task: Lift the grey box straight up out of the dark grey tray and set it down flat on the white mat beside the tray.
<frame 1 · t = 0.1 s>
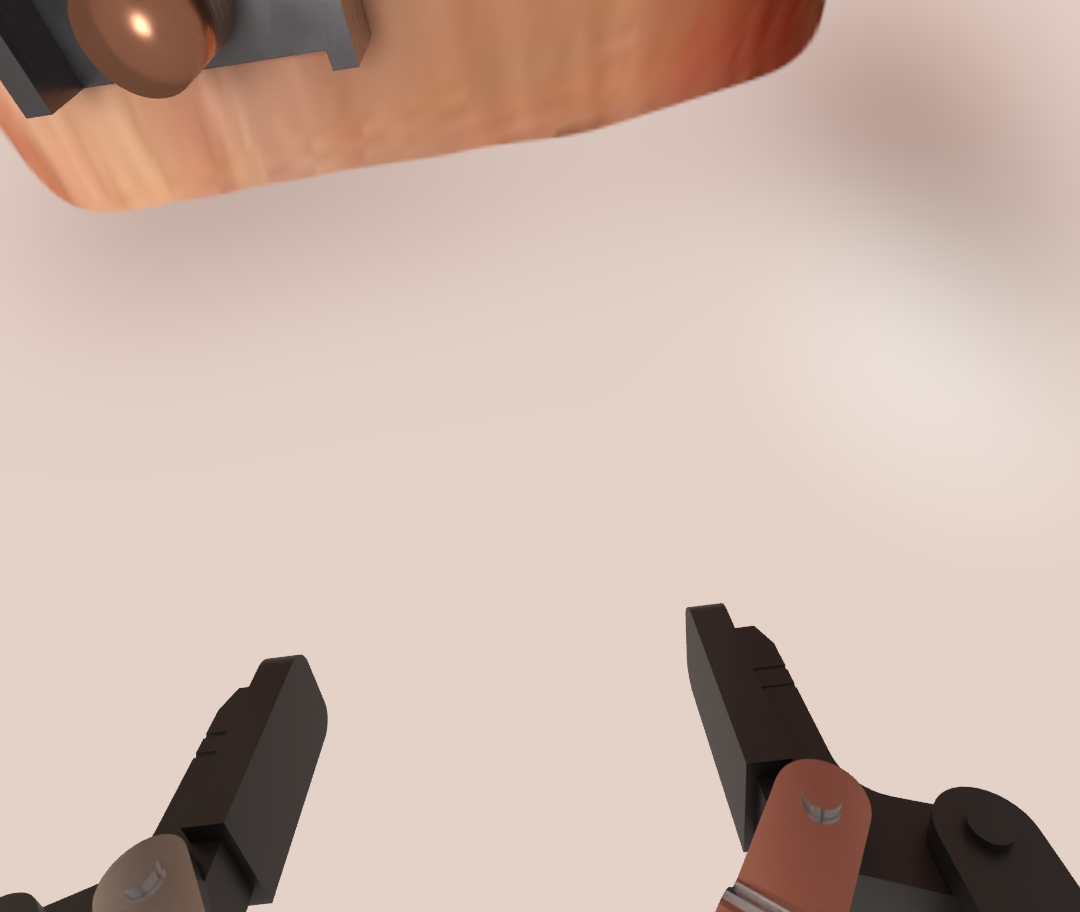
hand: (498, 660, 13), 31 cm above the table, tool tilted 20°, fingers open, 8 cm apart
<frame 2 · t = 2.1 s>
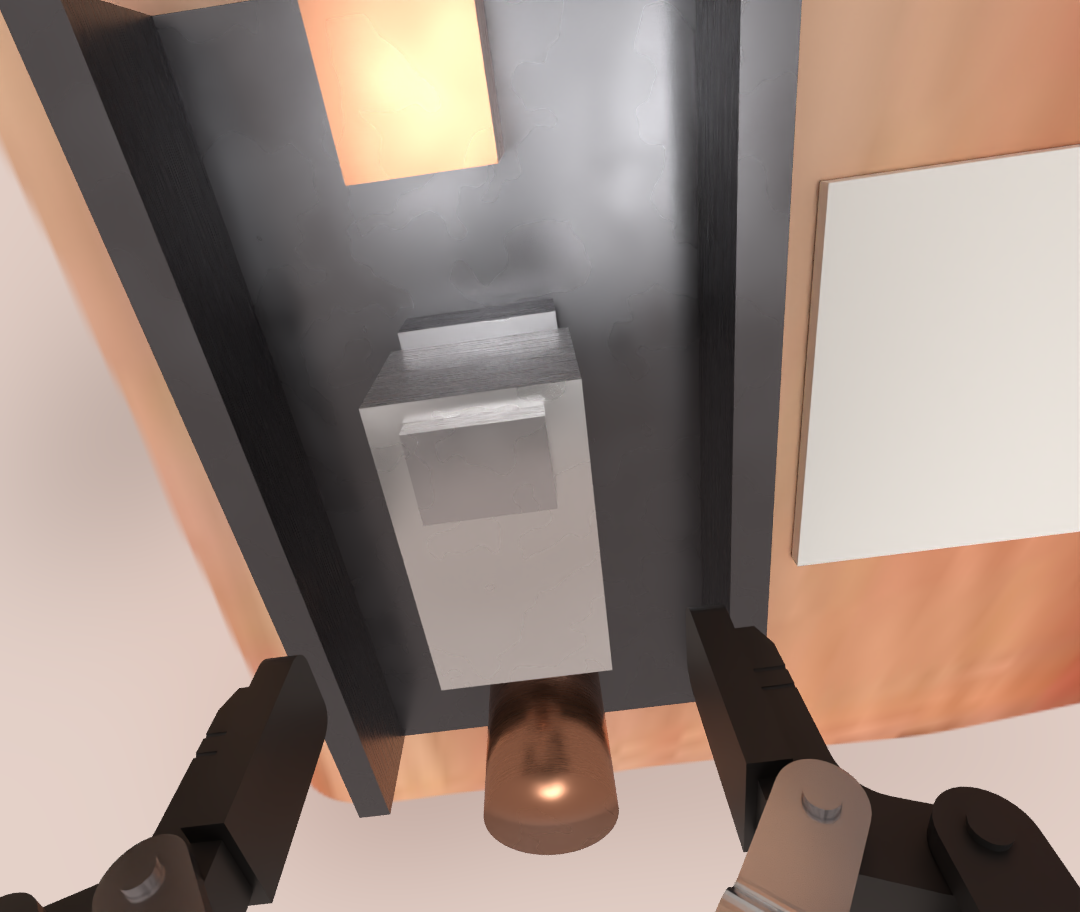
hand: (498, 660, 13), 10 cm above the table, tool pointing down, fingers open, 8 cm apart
grey box: (504, 478, 19), point 3 cm above the table, touching dark grey tray
white mat: (1006, 370, 21), on the table
dark grey tray: (506, 435, 22), on the table
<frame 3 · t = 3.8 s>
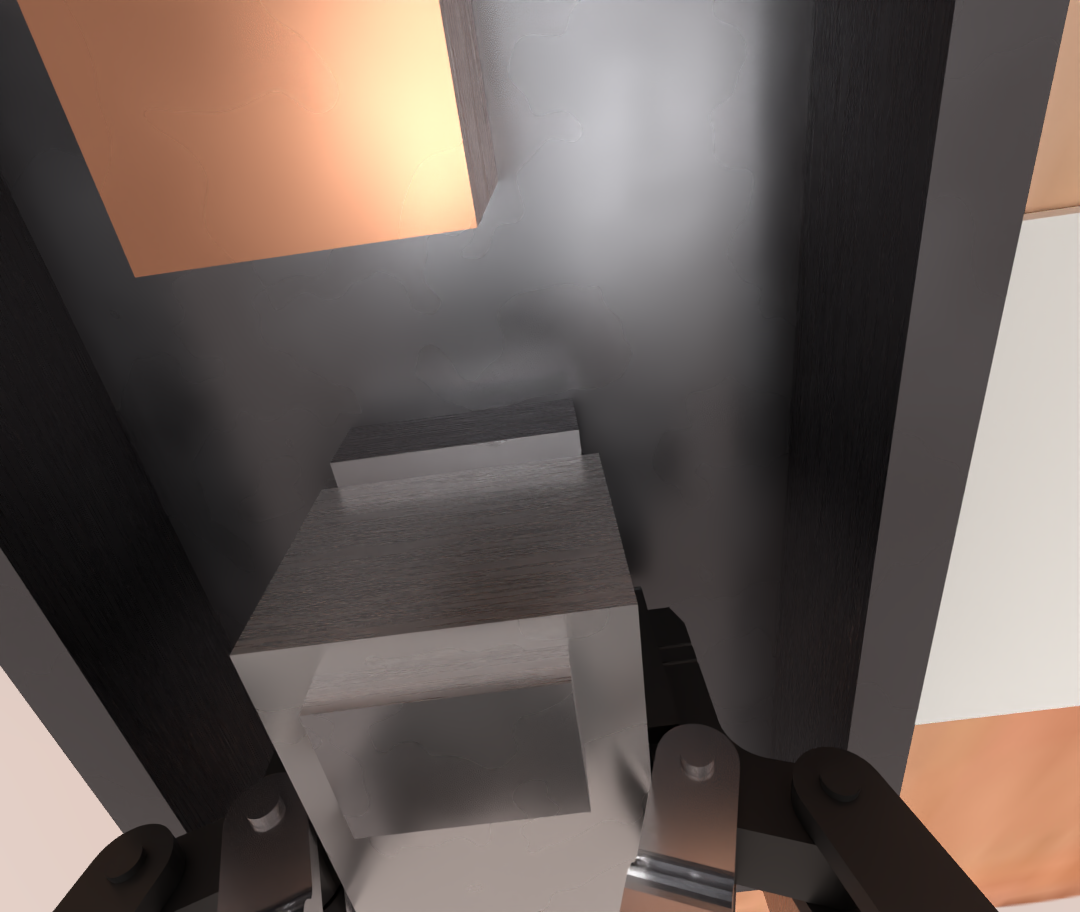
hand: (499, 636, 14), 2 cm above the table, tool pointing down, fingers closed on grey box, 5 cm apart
grey box: (499, 656, 13), point 3 cm above the table, touching gripper, dark grey tray
dark grey tray: (502, 568, 16), on the table
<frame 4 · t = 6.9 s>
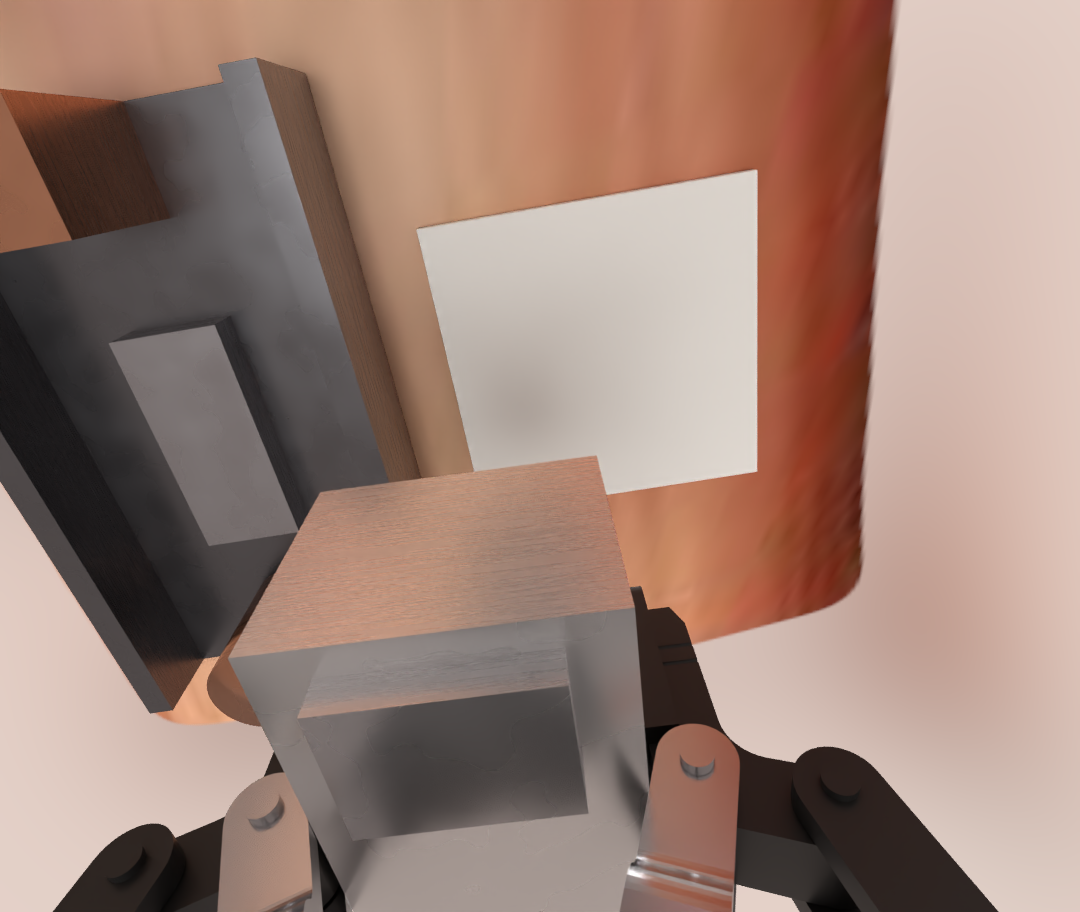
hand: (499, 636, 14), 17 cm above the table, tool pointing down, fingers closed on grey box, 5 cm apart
grey box: (498, 657, 13), point 18 cm above the table, touching gripper
white mat: (602, 358, 29), on the table
dark grey tray: (239, 417, 30), on the table
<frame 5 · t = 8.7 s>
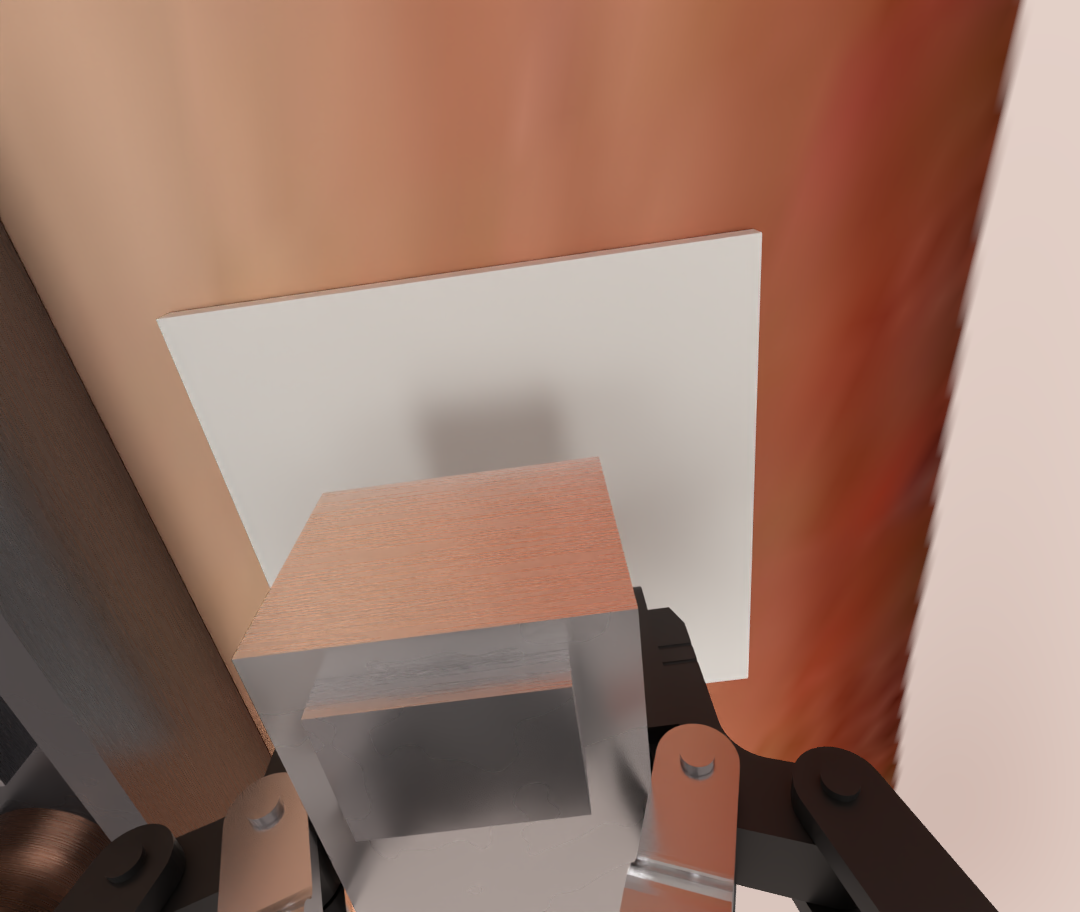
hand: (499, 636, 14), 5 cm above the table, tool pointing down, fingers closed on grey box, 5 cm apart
grey box: (500, 658, 13), point 5 cm above the table, touching gripper
white mat: (503, 518, 18), on the table
when the fingers open (1 cm above the table, at t = 10.2 s): grey box drops 1 cm, resting on white mat.
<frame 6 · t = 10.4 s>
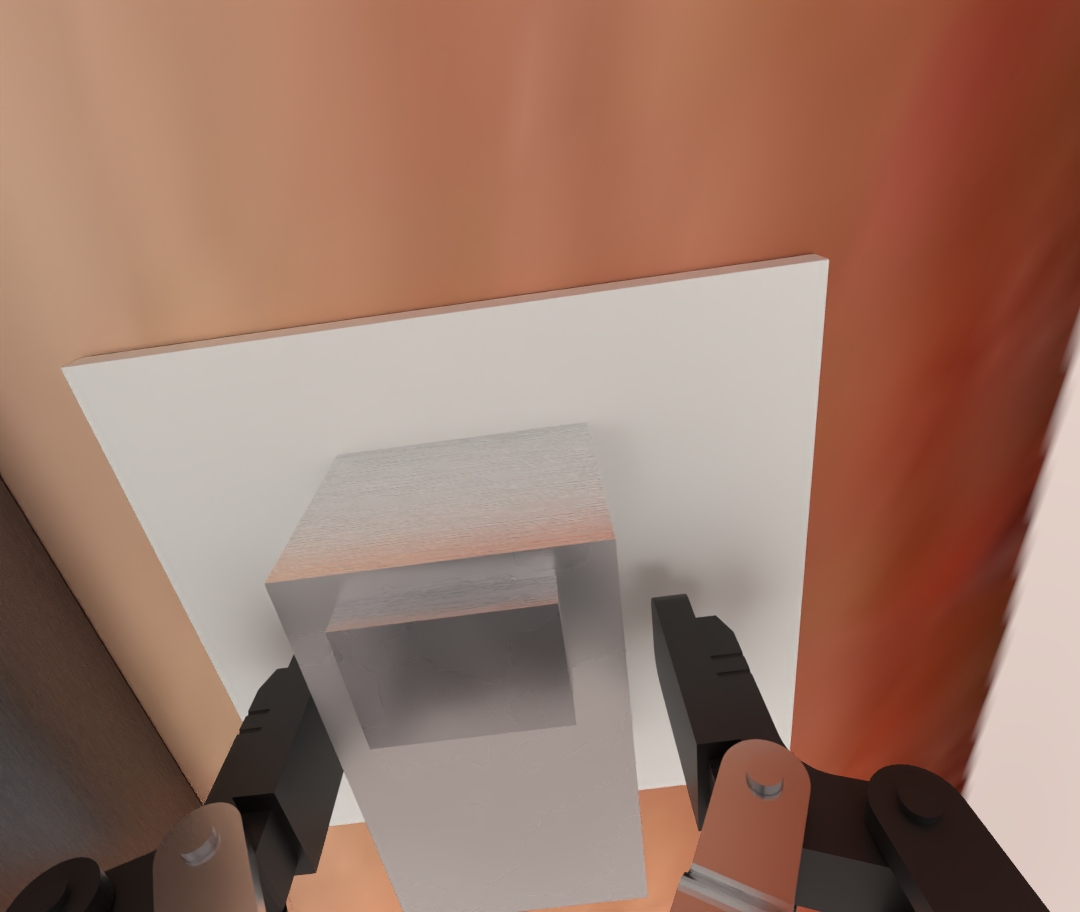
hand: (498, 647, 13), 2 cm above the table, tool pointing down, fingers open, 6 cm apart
grey box: (497, 612, 14), point 1 cm above the table, touching white mat
white mat: (500, 595, 15), on the table
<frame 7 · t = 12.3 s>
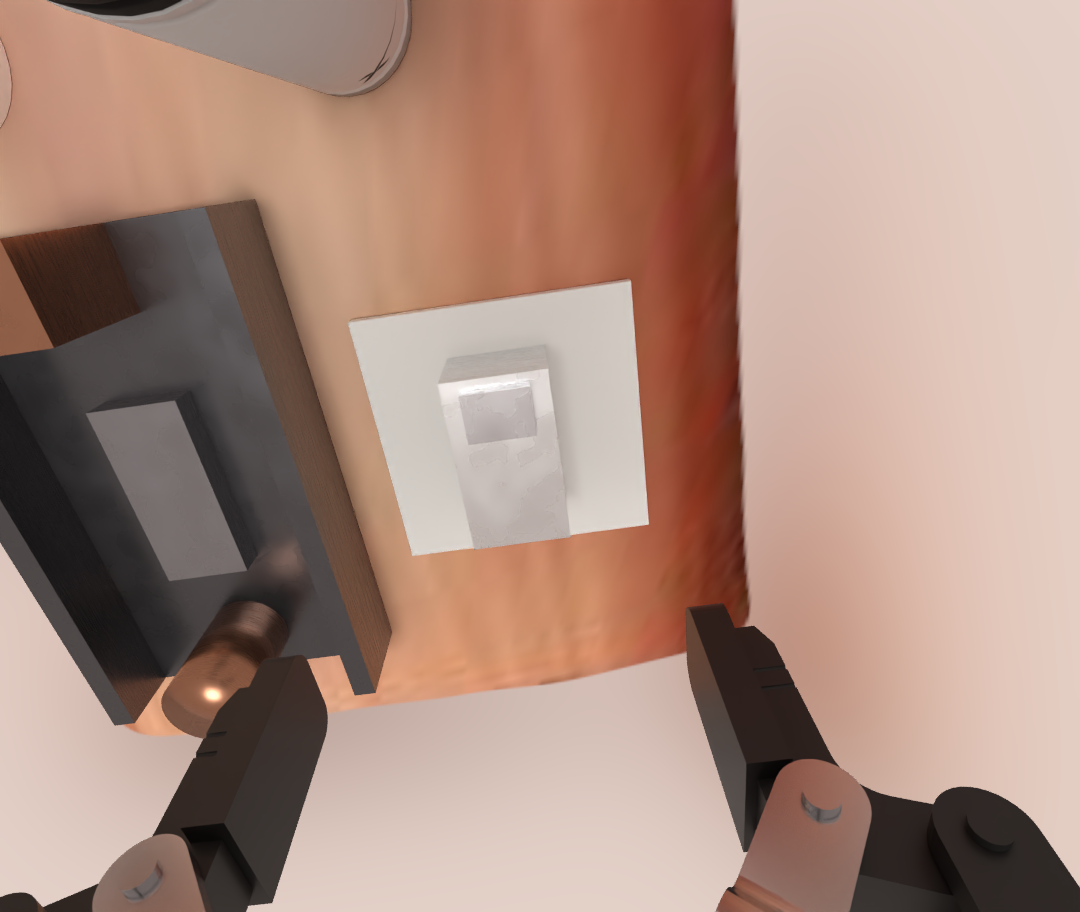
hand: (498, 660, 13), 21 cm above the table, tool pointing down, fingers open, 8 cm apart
grey box: (509, 432, 33), point 1 cm above the table, touching white mat
white mat: (511, 427, 34), on the table
dark grey tray: (199, 470, 34), on the table
travel mug: (341, 10, 26), on the table
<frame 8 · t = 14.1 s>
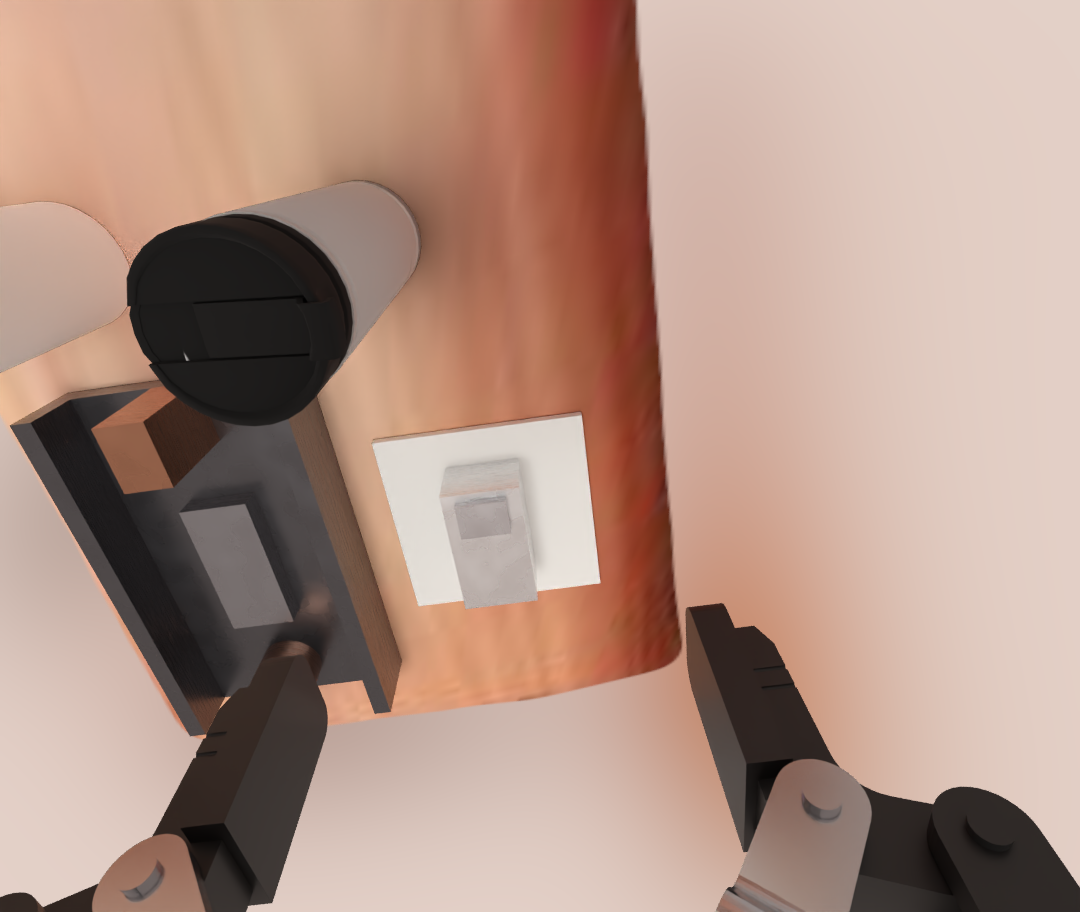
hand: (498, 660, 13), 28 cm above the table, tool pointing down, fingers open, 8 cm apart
grey box: (492, 518, 44), point 1 cm above the table, touching white mat
white mat: (494, 513, 44), on the table
dark grey tray: (255, 544, 45), on the table
cylindrical container: (68, 267, 36), on the table
travel mug: (370, 238, 36), on the table
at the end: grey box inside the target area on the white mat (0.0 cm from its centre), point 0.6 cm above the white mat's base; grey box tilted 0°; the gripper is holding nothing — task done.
